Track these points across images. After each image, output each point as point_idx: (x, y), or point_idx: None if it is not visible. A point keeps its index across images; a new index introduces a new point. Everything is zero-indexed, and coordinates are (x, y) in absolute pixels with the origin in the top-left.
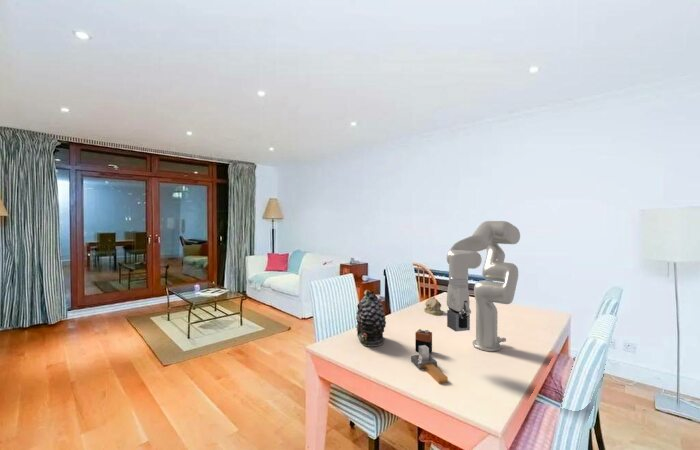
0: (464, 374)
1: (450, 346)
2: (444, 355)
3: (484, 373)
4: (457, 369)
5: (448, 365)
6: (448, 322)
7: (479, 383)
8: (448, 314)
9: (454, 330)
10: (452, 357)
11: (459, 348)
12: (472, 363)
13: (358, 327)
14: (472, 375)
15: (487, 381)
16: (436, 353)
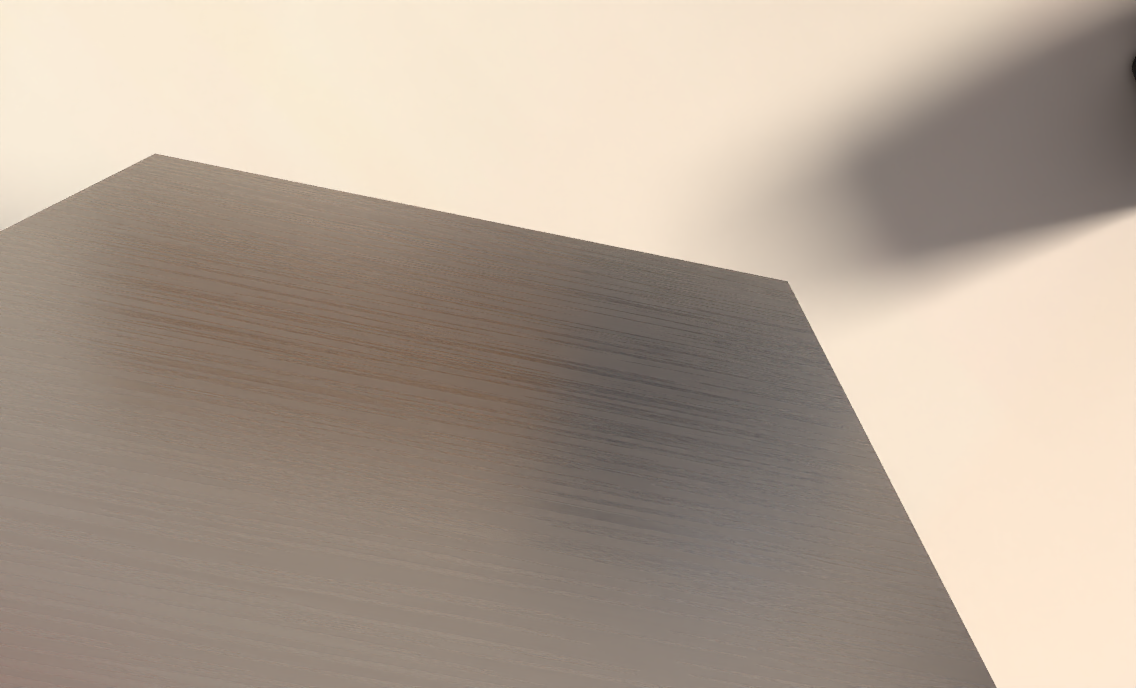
0: (300, 69)
1: (1109, 570)
2: (941, 269)
3: None
4: (471, 94)
5: (641, 64)
6: (715, 339)
7: (9, 59)
8: (780, 595)
9: (249, 175)
10: (817, 326)
11: (976, 622)
12: None
13: None
14: (235, 153)
15: (30, 205)
16: (1077, 206)
